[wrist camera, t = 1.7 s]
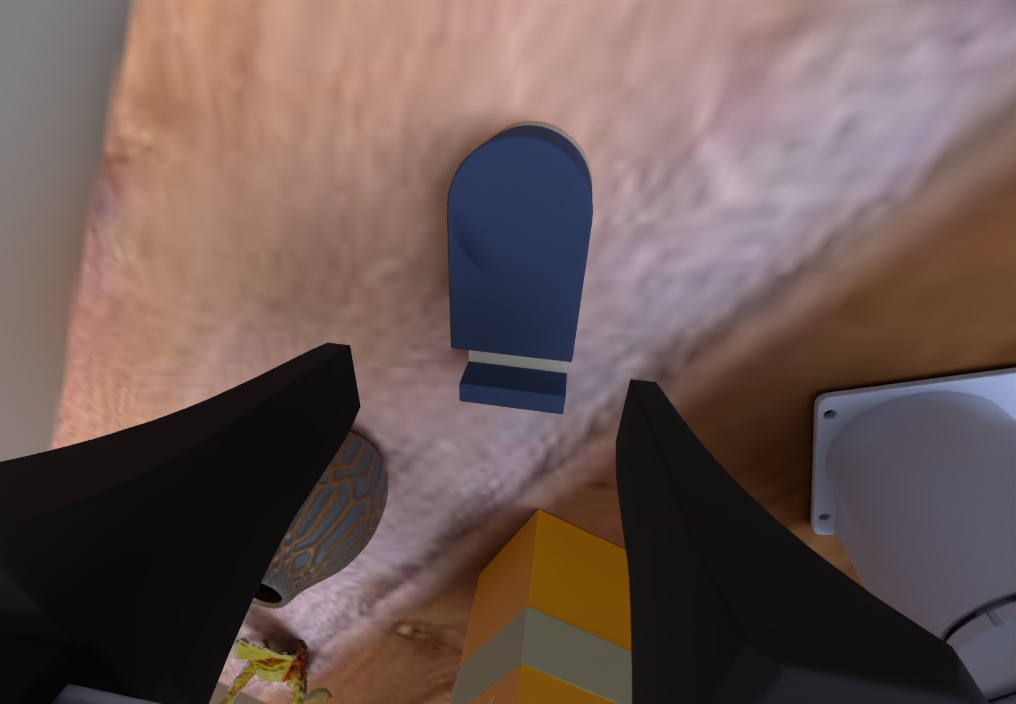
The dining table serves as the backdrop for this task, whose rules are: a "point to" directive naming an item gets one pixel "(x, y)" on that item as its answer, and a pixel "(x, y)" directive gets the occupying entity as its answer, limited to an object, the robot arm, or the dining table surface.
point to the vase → (329, 524)
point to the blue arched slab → (518, 264)
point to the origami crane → (275, 671)
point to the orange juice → (549, 621)
